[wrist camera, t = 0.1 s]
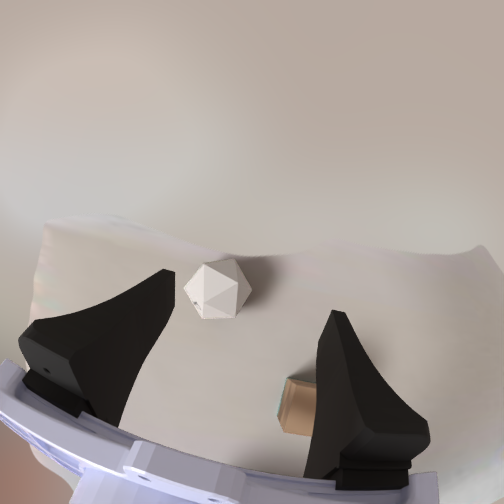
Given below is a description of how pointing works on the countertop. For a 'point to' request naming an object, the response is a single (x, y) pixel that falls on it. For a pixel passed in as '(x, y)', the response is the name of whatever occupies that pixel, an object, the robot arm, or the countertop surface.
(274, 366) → the countertop surface
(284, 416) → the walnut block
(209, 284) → the die
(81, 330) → the robot arm
